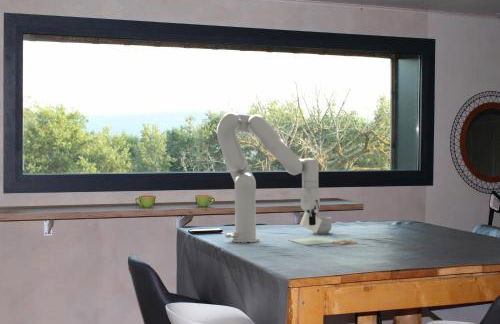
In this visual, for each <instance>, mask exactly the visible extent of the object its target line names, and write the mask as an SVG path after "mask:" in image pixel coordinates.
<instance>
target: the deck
mask: <svg viewBox="0 0 500 324" xmlns="http://www.w3.org/2000/svg"><path fill="white" fill-rule="evenodd" d="M309 217H310V213H308V212H305V211H304V213H303V215H302V217H301V220H300V223H299V225H300V226H302V227H304V228H306V229H307V230H309V231H310V232H312V231H313V233H314V232H315V233H317V230H318V228H319V226H320V223H321V221H322V220H321V219H319V218H317V217H318V216H316V225H309ZM315 233H314V234H315Z"/></svg>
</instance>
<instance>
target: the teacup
mask: <svg viewBox="0 0 500 324" xmlns="http://www.w3.org/2000/svg"><path fill="white" fill-rule="evenodd" d="M316 217H317V218H319V219H321V220H322V221H321V223H320V226H319V228H318V230H317V233H315V232H313V231H311V232H313V233H314V235H326V234H328V233H329V232H330V231H332V226H333V225H332V217H331V216H316Z"/></svg>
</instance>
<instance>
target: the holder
mask: <svg viewBox="0 0 500 324" xmlns="http://www.w3.org/2000/svg"><path fill="white" fill-rule="evenodd" d="M332 244H335V245H337V246H341V245H353V244H358V240H353V239H347V240H346V239H343V240H336V241H333V243H332Z"/></svg>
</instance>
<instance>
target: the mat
mask: <svg viewBox="0 0 500 324" xmlns="http://www.w3.org/2000/svg"><path fill="white" fill-rule="evenodd" d="M287 241H289V242H292V243H297V244H301V245H305V246H310V245H311V246H312V245H322V244H323V245H324V244H333V241H337V240H335V239H331V238H327V237H321V236H318V237H306V238H293V239H288V240H287Z"/></svg>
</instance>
